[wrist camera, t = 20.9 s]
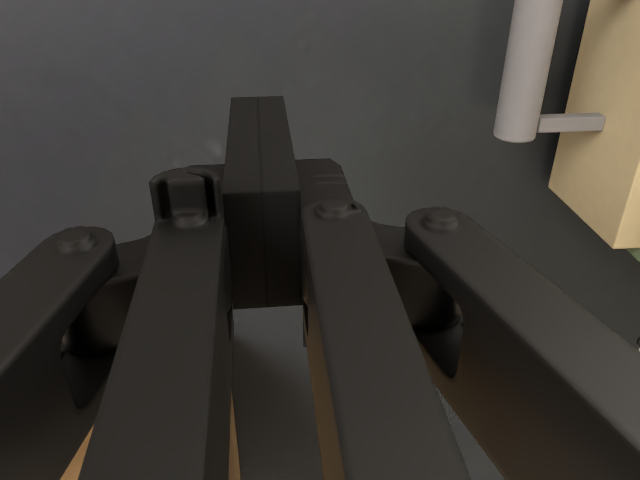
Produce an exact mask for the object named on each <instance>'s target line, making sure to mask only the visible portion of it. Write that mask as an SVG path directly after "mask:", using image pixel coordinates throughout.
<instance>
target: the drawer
mask: <svg viewBox="0 0 640 480" xmlns="http://www.w3.org/2000/svg"><path fill="white" fill-rule="evenodd" d="M562 4H563V0H515V3H514V9H513V15H512V21H511V27H510V33H509V39H508V45H507V51H506V58H505V64H504V70H503V76H502V82H501V88H500V94H499V100H498V107H497V113H496V119H495V125H494V131H493V134H494V136H495V137H496V138H498V139H500V140H503V141H507V142H513V143H525V142H530V141H533V140H534V139H535V136H536V132H538V133H550V132H560V137H559V141H558V146H557V150H556V155H555V159H554V163H553V168H552V172H551V177H550V181H549V185H548V187H549V188H550V189H551V190H552V191H553V192H554V193H555V194H556V195H557V196H558V197H559V198H560V199H561V200H562V201H563V202H564V203H566V204H567V205H568V206H569V207H570V208H571V209H572V210H573V211H574V212H575V213H576V214H577V215H578V216H579V217H580V218H581V219H582V220H583V221H584V222H585V223H586V224H587V225H588V226H590V227H591V228H592V229H593V230H594V231H595V232H596V233H597V234H598V235H599V236H600V237H601V238H602V239H603V240H604V241H605V242H606V243H607V244H608V245H609V246H610V247H611V248H613V249H624V248H640V0H590V4H589V9H588V13H587V17H586V22H585V26H584V31H583V35H582V40H581V44H580V48H579V53H578V57H577V62H576V66H575V70H574V75H573V79H572V84H571V88H570V93H569V97H568V101H567V106H566V110H565V114H540V112H541V107H542V102H543V97H544V92H545V87H546V82H547V77H548V72H549V68H550V63H551V58H552V53H553V48H554V43H555V38H556V33H557V28H558V23H559V18H560V14H561V9H562Z"/></svg>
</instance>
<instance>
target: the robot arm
mask: <svg viewBox="0 0 640 480" xmlns="http://www.w3.org/2000/svg"><path fill="white" fill-rule="evenodd" d="M149 186H150V192H151V198H152V204H153V210H154V216H155V224H154V227H153V230H152V234H151V235H149V236H147V237H145V238H142V239H139V240H135V241H131V242H126V243H122V244H117V245H116V244H115V240H114V237H113V234H112V233H111V232H110V231H108V230H106V229H104V228H98V227H84V226H78V227H74V228H73V227H72V228H68V229H65V230H63V231H61V232H59V233H56V234H54V235H52V236H50V237H49V238H47V239H45V240H44V241H42V242H41V243H40V244H39V245H38V246H37V247H36V248H35V249H34V250H32V251H31V252H30V253H29V254H28V255H27V256H26V257H25V258H24V259H23V260H21V261H20V262H19V263H18V264H17V265H16V266H15V267H14V268H13V269H11V270H10V271H9V272H8V273H7V274H6V275H5V276H4V277H3V278H1V279H0V480H60V479H61V477H62V476H63V474H64V473H65V471H66V469H67V468H68V466H69V464H70V463H71V461H72V459H73V458H74V456H75V454H76V453H77V451H78V450H79V448H80V446H81V445H82V443H83V441H84V440H85V438H86V436H87V435H88V433H89V432H90V430H91V428H92V427H93V425H94V427H93V430H92V433H91V437H90V440H89V443H88V447H87V450H86V453H85V457H84V460H83V463H82V467H81V470H80V473H79V477H78V480H229V451H230V420H231V390H232V360H233V330H234V321H233V311H232V305H233V309H247V308H262V307H278V306H293V305H303V342H304V347H307V353H308V361H309V368H310V376H311V384H312V392H313V399H314V407H315V415H316V423H317V431H318V438H319V446H320V454H321V462H322V469H323V477H324V480H471V477H470V475H469V472H468V470H467V467H466V464H465V462H464V459H463V457H462V454H461V452H460V449H459V447H458V444H457V441H456V439H455V436H454V434H453V431H452V429H451V426H450V423H449V421H448V418H447V416H446V413H445V411H444V408H443V405H442V403H441V400H440V398H439V395H438V393H437V390H436V388H435V385H436V387H437V388H438V390H439V391H440V392H441V394H442V395H443V396H444V398H445V399H446V400H447V402H448V403H449V404H450V406H451V407H452V408H453V410H454V411H455V412H456V414H457V415H458V416H459V418H460V419H461V420H462V422H463V423H464V424H465V426H466V427H467V429H468V430H469V431H470V433H471V434H472V435H473V437H474V438H475V439H476V441H477V442H478V443H479V445H480V446H481V447H482V449H483V450H484V451H485V453H486V454H487V455H488V457H489V458H490V459H491V461H492V462H493V463H494V465H495V466H496V468H497V469H498V470H499V472H500V473H501V474H502V476H503V477H504V478H505V480H640V352H639V351H638V350H637V349H636V348H634V347H633V346H632V345H630V344H629V343H628V342H627V341H625V340H624V339H623V338H622V337H620V336H619V335H618V334H617V333H615V332H614V331H613V330H611V329H610V328H609V327H608V326H606V325H605V324H604V323H603V322H601V321H600V320H599V319H597V318H596V317H595V316H594V315H592V314H591V313H590V312H589V311H587V310H586V309H585V308H584V307H582V306H581V305H580V304H578V303H577V302H576V301H575V300H573V299H572V298H571V297H570V296H568V295H567V294H566V293H565V292H563V291H562V290H561V289H559V288H558V287H557V286H556V285H554V284H553V283H552V282H551V281H549V280H548V279H547V278H546V277H544V276H543V275H542V274H540V273H539V272H538V271H537V270H535V269H534V268H533V267H532V266H530V265H529V264H528V263H526V262H525V261H524V260H523V259H521V258H520V257H519V256H518V255H516V254H515V253H514V252H513V251H511V250H510V249H509V248H507V247H506V246H505V245H504V244H502V243H501V242H500V241H499V240H497V239H496V238H495V237H494V236H492V235H491V234H490V233H488V232H487V231H486V230H485V229H483V228H482V227H481V226H480V225H478V224H477V223H476V222H475V221H473V220H472V219H471V218H469V217H468V216H466V215H464V214H462V213H461V212H458V211H454V210H451V209H449V208H445V207H442V208H440V207H432V208H422V209H419V210H416V211H413V212H412V213H410V214H409V215H408V216H407V218H406V222H405V228H404V227H395V226H388V225H382V224H378V223H375V222H372V221H370V218H369V216H368V213H367V211H366V209H365V208H364V207H363V206H362V205H361V204H359V203H357V202H355V201H353V198H352V195H351V193H350V190H349V187H348V184H347V182H346V179H345V177H344V173H343V171H342V168H341V166H340V165H339V164H337V163H336V162H334V161H333V160H331V159H330V158H328V159H304V160H295V158H294V153H293V147H292V142H291V137H290V131H289V126H288V121H287V115H286V110H285V104H284V99H283V96H270V97H236V98H231V106H230V117H229V127H228V137H227V147H226V158H225V164H218V165H194V166H188V167H186V168H177V169H172V170H168V171H165V172H162V173H160V174H158V175H156V176H154V177H153V178H152V179H151V180H150V182H149ZM302 296H303V299H302ZM62 339H63V340H62ZM434 384H435V385H434Z"/></svg>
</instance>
